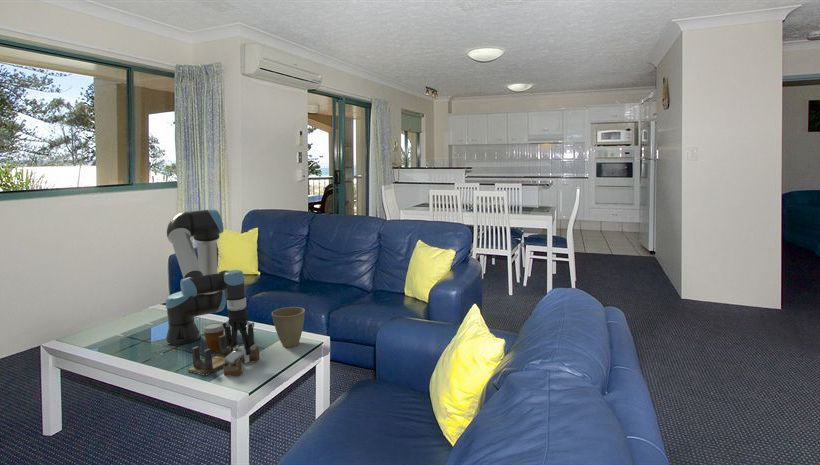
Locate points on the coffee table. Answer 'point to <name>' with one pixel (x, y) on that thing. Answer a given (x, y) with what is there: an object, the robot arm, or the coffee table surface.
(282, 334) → the plant pot
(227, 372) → the tube stand
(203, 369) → the collar block
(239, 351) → the air tube
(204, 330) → the disposable coffee cup
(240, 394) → the coffee table surface
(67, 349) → the coffee table surface
